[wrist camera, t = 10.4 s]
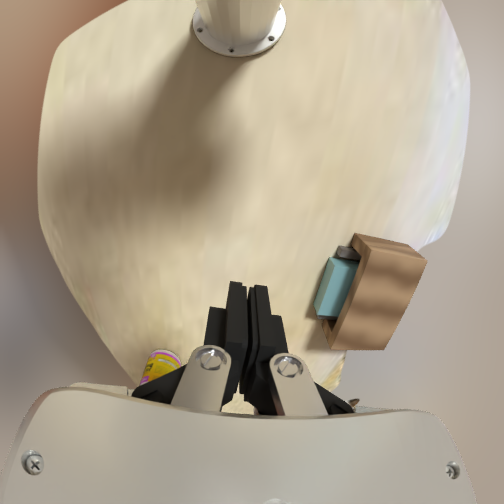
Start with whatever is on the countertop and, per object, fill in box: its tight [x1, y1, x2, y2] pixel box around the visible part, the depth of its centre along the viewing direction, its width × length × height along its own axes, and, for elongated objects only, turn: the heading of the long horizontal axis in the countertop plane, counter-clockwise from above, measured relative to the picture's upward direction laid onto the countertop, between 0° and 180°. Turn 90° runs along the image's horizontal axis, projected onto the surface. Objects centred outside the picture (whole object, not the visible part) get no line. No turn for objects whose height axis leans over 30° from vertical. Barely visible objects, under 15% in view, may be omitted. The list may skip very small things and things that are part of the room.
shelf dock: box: [316, 233, 427, 350], centre depth 41 cm, size 18×13×6 cm
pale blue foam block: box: [313, 257, 360, 317], centre depth 43 cm, size 9×12×3 cm
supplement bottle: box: [140, 349, 181, 385], centre depth 44 cm, size 7×7×13 cm
